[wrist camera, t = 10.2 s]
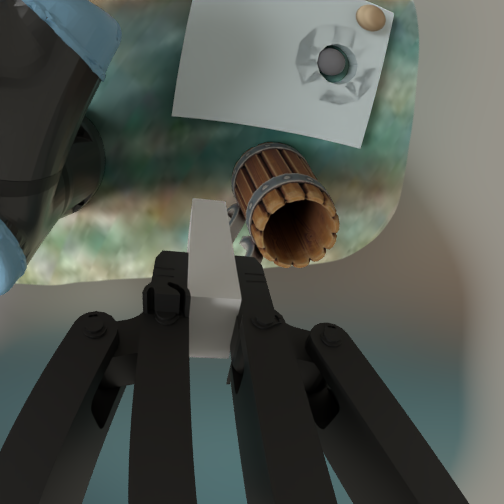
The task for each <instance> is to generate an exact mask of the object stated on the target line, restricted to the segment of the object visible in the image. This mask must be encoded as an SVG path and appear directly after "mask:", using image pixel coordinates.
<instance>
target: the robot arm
mask: <svg viewBox="0 0 504 504" xmlns="http://www.w3.org/2000/svg"><path fill="white" fill-rule="evenodd" d="M121 37H122V33H121V28H120V26H119V24H118V22H117V21H116V20H115V19H114V18H113V17H112V16H111V15H109V14H108V13H107V12H105V11H104V10H102V9H101V8H99V7H98V6H96V5H95V4H93V3H91V2H90V1H88V0H0V295H3V294H5V293H6V292H8V291H9V290H10V289H11V288H12V287H13V285H14V284H15V282H16V281H17V280H18V279H19V278H20V277H21V276H22V275H23V274H24V272H25V270H26V268H27V265H28V263H29V262H30V260H31V259H32V257H33V255H34V254H35V252H36V251H37V249H38V248H39V246H40V245H41V243H42V242H43V241H44V239H45V238H46V236H47V235H48V233H49V232H50V231H51V229H52V228H53V226H54V225H55V224H56V222H57V221H58V220H59V219H60V218H63V217H65V216H67V215H70V214H72V213H74V212H76V211H78V210H79V209H81V208H82V207H83V206H84V205H86V204H87V203H88V201H89V200H90V199H91V198H92V196H93V195H94V194H95V192H96V191H97V189H98V187H99V186H100V183H101V181H102V178H103V175H104V170H105V152H104V146H103V143H102V140H101V137H100V135H99V133H98V131H97V129H96V128H95V126H94V125H93V124H92V123H91V121H90V120H89V119H88V118H87V117H85V114H86V112H87V109H88V107H89V105H90V103H91V101H92V99H93V97H94V95H95V93H96V91H97V89H98V87H99V85H100V83H101V81H104V79H105V77H106V75H105V72H106V70H107V68H108V66H109V64H110V62H111V60H112V58H113V56H114V54H115V52H116V50H117V48H118V46H119V44H120V42H121ZM142 293H143V313H141V314H140V315H139V316H136V317H134V318H132V319H128V320H122V321H115V320H114V319H113V317H112V316H110V315H108V314H106V313H104V312H97V311H95V312H88V313H86V314H84V315H82V316H80V317H79V318H78V319H77V320H76V321H75V322H74V324H73V325H72V327H71V328H70V330H69V331H68V333H67V335H66V336H65V338H64V339H63V341H62V342H61V344H60V345H59V347H58V348H57V350H56V352H55V353H54V355H53V356H52V358H51V360H50V361H49V363H48V364H47V366H46V368H45V369H44V371H43V373H42V374H41V376H40V378H39V379H38V381H37V383H36V385H35V386H34V388H33V390H32V391H31V394H30V395H29V397H28V399H27V400H26V402H25V404H24V406H23V408H22V410H21V412H20V413H19V415H18V417H17V419H16V421H15V423H14V425H13V427H12V429H11V430H10V433H9V434H8V437H7V438H6V441H5V443H4V445H3V447H2V449H1V451H0V504H82V502H83V499H84V496H85V493H86V490H87V487H88V484H89V481H90V478H91V476H92V473H93V470H94V467H95V464H96V462H97V459H98V456H99V453H100V451H101V448H102V446H103V443H104V440H105V438H106V435H107V432H108V430H109V427H110V425H111V422H112V420H113V417H114V415H115V412H116V410H117V408H118V405H119V403H120V400H121V398H122V395H123V393H124V390H125V388H126V385H132V384H134V393H133V404H132V416H131V431H130V449H129V450H130V451H129V483H128V484H129V485H128V486H129V487H128V503H129V504H197V499H196V487H195V476H194V462H193V447H192V429H191V406H190V370H189V357H201V358H228V357H229V353H230V352H231V360H232V361H231V365H230V369H229V373H228V378H227V384H230V381H231V389H232V397H233V405H234V412H235V421H236V429H237V436H238V443H239V450H240V458H241V464H242V471H243V478H244V484H245V491H246V498H247V504H337V501H336V497H335V493H334V490H333V486H332V483H331V479H330V475H329V472H328V468H327V465H326V461H325V457H324V454H325V456H326V458H327V460H328V461H329V463H330V465H331V466H332V468H333V470H334V472H335V473H336V475H337V477H338V478H339V480H340V482H341V484H342V485H343V487H344V489H345V490H346V492H347V494H348V495H349V497H350V499H351V500H352V502H353V504H469V503H468V501H467V500H466V498H465V497H464V495H463V494H462V492H461V491H460V490H459V488H458V487H457V485H456V484H455V482H454V481H453V480H452V478H451V476H450V475H449V473H448V472H447V470H446V469H445V468H444V466H443V465H442V463H441V462H440V460H439V459H438V458H437V456H436V455H435V453H434V452H433V450H432V449H431V447H430V446H429V445H428V443H427V442H426V440H425V439H424V438H423V436H422V435H421V433H420V432H419V431H418V429H417V428H416V426H415V425H414V423H413V422H412V421H411V419H410V418H409V416H407V414H406V412H405V411H404V409H403V408H402V407H401V405H400V404H399V403H398V401H397V400H396V399H395V397H394V396H393V394H392V393H391V392H390V390H389V389H388V388H387V386H386V385H385V383H384V382H383V381H382V379H381V378H380V377H379V375H378V374H377V373H376V371H375V370H374V368H373V367H372V366H371V364H370V363H369V362H368V360H367V359H366V358H365V356H364V355H363V354H362V352H361V351H360V350H359V348H358V347H357V346H356V344H355V343H354V342H353V340H352V339H351V338H350V336H349V335H348V334H347V333H346V332H345V331H344V330H343V329H342V328H340V327H339V326H336V325H335V324H331V323H319V324H317V325H315V326H314V327H313V328H312V330H311V331H307V330H303V329H300V328H296V327H293V326H290V325H288V324H286V323H285V320H284V319H283V317H282V315H280V314H279V313H278V312H277V311H276V310H274V307H273V304H272V300H271V296H270V293H269V289H268V286H267V283H266V278H265V276H264V271H263V268H262V265H261V264H260V263H259V262H258V260H257V259H256V258H255V257H247V256H235V255H234V251H233V245H232V239H231V232H230V226H229V220H228V214H227V207H226V201H218V200H208V199H198V198H193V199H192V208H191V217H190V226H189V236H188V247H187V252H175V251H162V252H161V253H160V254H159V255H158V256H157V257H156V259H155V265H154V270H153V276H152V281H151V283H150V284H148V285H147V286H146V287H145V288H144V290H143V292H142ZM323 453H324V454H323Z"/></svg>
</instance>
